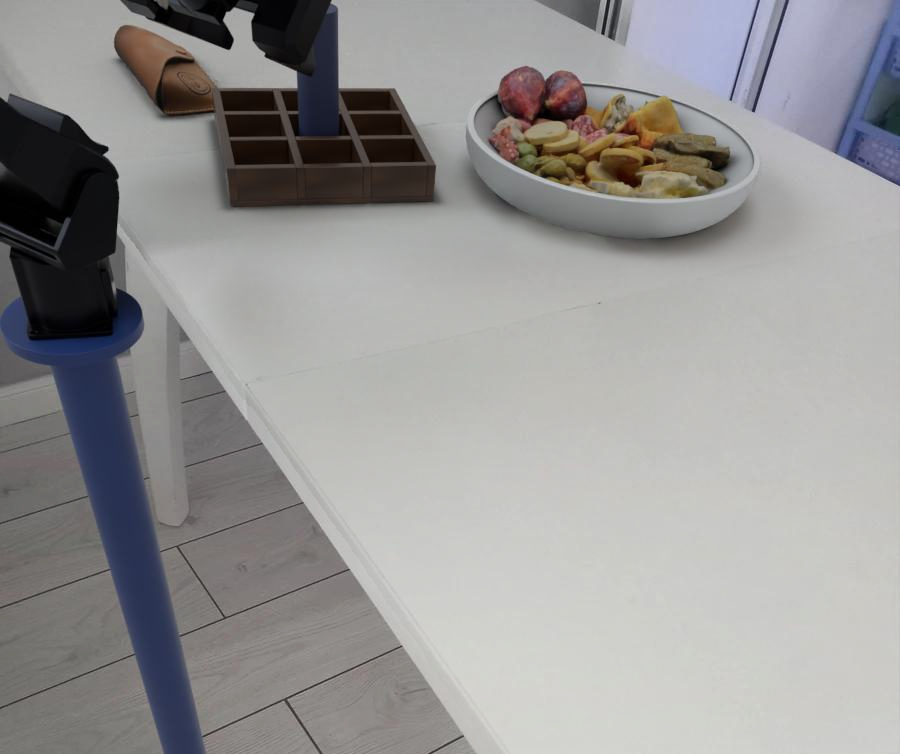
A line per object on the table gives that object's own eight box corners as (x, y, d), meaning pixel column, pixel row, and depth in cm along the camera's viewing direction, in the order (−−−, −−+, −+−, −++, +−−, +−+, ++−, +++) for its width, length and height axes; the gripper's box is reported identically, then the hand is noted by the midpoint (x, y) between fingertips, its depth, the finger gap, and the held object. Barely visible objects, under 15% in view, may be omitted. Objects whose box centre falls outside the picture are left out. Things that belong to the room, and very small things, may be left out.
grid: (230, 206, 84) (226, 168, 81) (215, 122, 96) (211, 87, 93) (433, 201, 88) (436, 164, 85) (393, 121, 100) (395, 88, 98)
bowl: (792, 192, 97) (820, 115, 91) (652, 288, 80) (676, 201, 74) (566, 106, 108) (579, 33, 102) (403, 175, 91) (406, 91, 85)
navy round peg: (330, 164, 90) (328, 16, 80) (293, 156, 90) (287, 8, 81) (344, 150, 92) (344, 5, 83) (308, 142, 93) (304, -3, 83)
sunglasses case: (234, 104, 98) (197, 48, 93) (185, 144, 99) (145, 91, 93) (184, 49, 108) (148, -4, 103) (140, 86, 109) (101, 35, 103)
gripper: (313, -160, 61) (395, -5, 76) (113, -207, 67) (225, -53, 82) (248, -5, 62) (341, 119, 77) (56, -63, 68) (177, 63, 83)
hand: (270, 57), depth 80 cm, fingers open, 9 cm apart
